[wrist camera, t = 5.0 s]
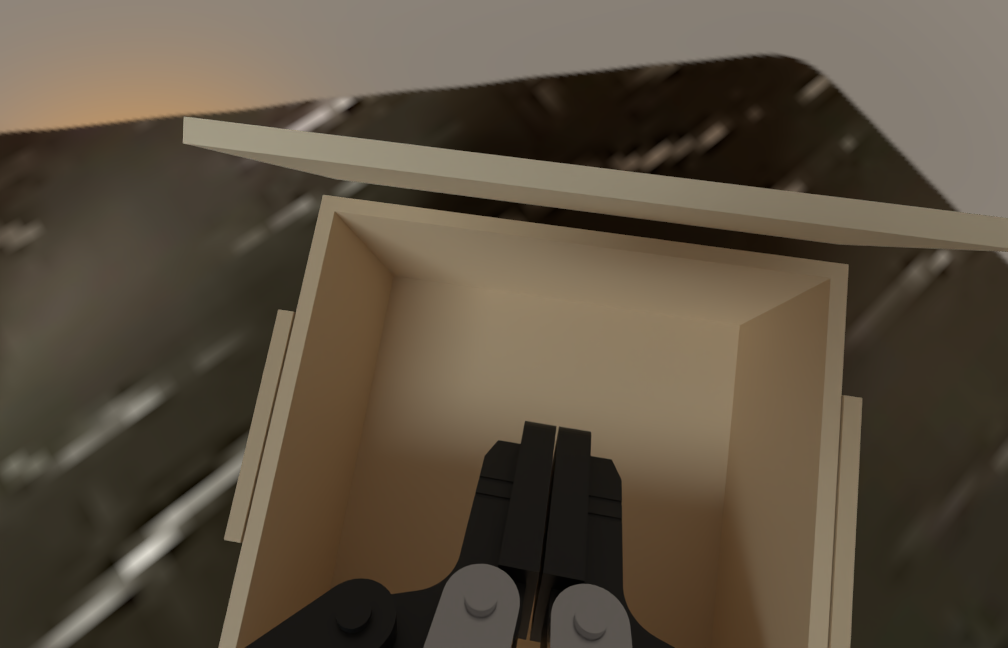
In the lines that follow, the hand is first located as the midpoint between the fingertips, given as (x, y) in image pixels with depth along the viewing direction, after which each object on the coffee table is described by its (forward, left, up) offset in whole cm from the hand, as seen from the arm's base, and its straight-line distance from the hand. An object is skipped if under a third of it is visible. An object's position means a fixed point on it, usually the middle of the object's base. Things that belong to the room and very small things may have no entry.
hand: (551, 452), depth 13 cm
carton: (0, -1, -17) cm, 17 cm away
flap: (-2, +7, -3) cm, 8 cm away
